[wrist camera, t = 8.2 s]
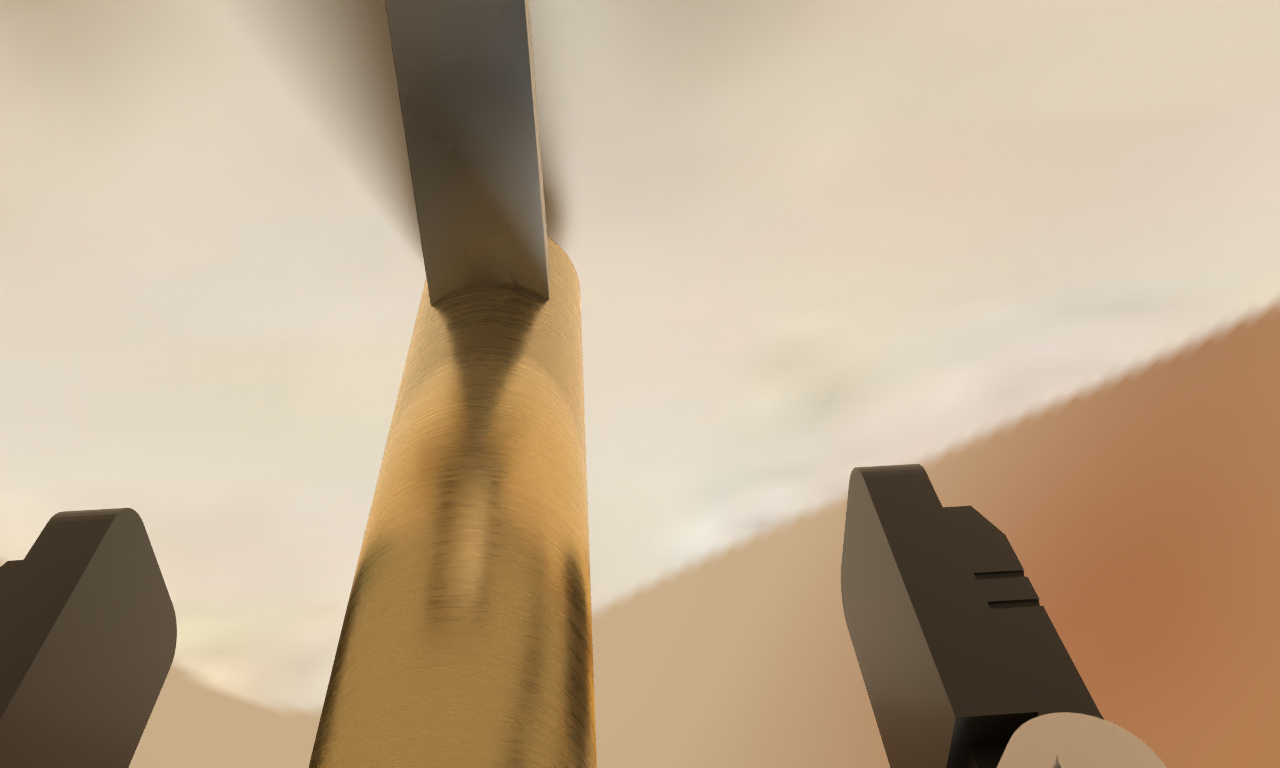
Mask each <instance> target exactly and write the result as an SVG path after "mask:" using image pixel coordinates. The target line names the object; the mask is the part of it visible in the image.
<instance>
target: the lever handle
mask: <svg viewBox="0 0 1280 768" xmlns="http://www.w3.org/2000/svg"><path fill="white" fill-rule="evenodd" d="M385 3H386V9H387V16H388V23H389V29H390V36H391V43H392V49H393V56H394V63H395V70H396V76H397V83H398V90H399V96H400V103H401V110H402V116H403V123H404V130H405V137H406V143H407V150H408V157H409V163H410V170H411V177H412V183H413V190H414V197H415V204H416V210H417V217H418V224H419V230H420V237H421V244H422V250H423V257H424V264H425V270H426V281H425V285H424V289H423V293H422V297H421V301H420V306H419V310H418V314H417V318H416V322H415V326H414V331H413V335H412V339H411V343H410V347H409V351H408V356H407V360H406V364H405V368H404V372H403V377H402V381H401V385H400V389H399V393H398V397H397V402H396V406H395V410H394V414H393V418H392V422H391V427H390V431H389V435H388V439H387V443H386V447H385V452H384V456H383V460H382V464H381V468H380V472H379V477H378V481H377V485H376V489H375V493H374V497H373V502H372V506H371V510H370V514H369V518H368V522H367V527H366V531H365V535H364V539H363V543H362V547H361V552H360V556H359V560H358V564H357V568H356V572H355V577H354V581H353V585H352V589H351V593H350V597H349V602H348V606H347V610H346V614H345V618H344V622H343V627H342V631H341V635H340V639H339V643H338V647H337V652H336V656H335V660H334V664H333V668H332V672H331V677H330V681H329V685H328V689H327V693H326V697H325V702H324V706H323V710H322V714H321V718H320V723H319V727H318V731H317V735H316V739H315V743H314V748H313V752H312V756H311V760H310V764H309V768H597V760H596V735H595V734H596V732H595V703H594V674H593V647H592V646H593V645H592V616H591V588H590V559H589V530H588V501H587V472H586V444H585V415H584V386H583V357H582V328H581V300H580V285H579V280H578V276H577V273H576V270H575V268H574V266H573V264H572V262H571V260H570V259H569V257H568V256H567V254H566V253H565V252H564V251H563V250H562V248H561V247H560V246H558V245H557V244H556V243H555V242H554V241H553V240H551V239H550V238H548V237H547V226H546V213H545V201H544V188H543V176H542V163H541V151H540V138H539V126H538V113H537V101H536V88H535V76H534V64H533V51H532V39H531V26H530V14H529V1H528V0H385Z"/></svg>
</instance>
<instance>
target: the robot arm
mask: <svg viewBox="0 0 1280 768" xmlns="http://www.w3.org/2000/svg"><path fill="white" fill-rule="evenodd" d="M841 591H842V601H843V608H844V614H845V619H846V623H847V626H848V630H849V633H850V636H851V640H852V643H853V646H854V649H855V653H856V656H857V659H858V663H859V666H860V669H861V672H862V675H863V679H864V682H865V686H866V689H867V692H868V695H869V699H870V702H871V705H872V708H873V712H874V715H875V718H876V721H877V725H878V728H879V731H880V735H881V738H882V741H883V745H884V748H885V751H886V754H887V758H888V761H889V764H890V768H1166V767H1165V765H1164V764H1163V763H1162V761H1161V760H1160V758H1159V757H1158V756H1157V755H1156V754H1155V753H1154V752H1153V751H1152V750H1151V749H1150V748H1149V747H1148V746H1147V745H1146V744H1145V743H1144V742H1142V741H1141V740H1140V739H1139V738H1137V737H1136V736H1135V735H1133V734H1131V733H1130V732H1128V731H1127V730H1125V729H1124V728H1121V727H1119V726H1117V725H1115V724H1113V723H1111V722H1109V721H1106V720H1104V719H1103V717H1102V715H1101V714H1100V712H1099V710H1098V709H1097V707H1096V705H1095V703H1094V701H1093V699H1092V697H1091V695H1090V694H1089V692H1088V690H1087V688H1086V686H1085V684H1084V682H1083V680H1082V678H1081V677H1080V675H1079V673H1078V671H1077V669H1076V667H1075V665H1074V663H1073V661H1072V660H1071V658H1070V656H1069V654H1068V652H1067V650H1066V648H1065V646H1064V645H1063V643H1062V641H1061V639H1060V637H1059V635H1058V634H1057V632H1056V629H1055V628H1054V626H1053V624H1052V622H1051V620H1050V618H1049V617H1048V614H1047V613H1046V611H1045V609H1044V607H1043V606H1040V604H1039V597H1038V596H1037V594H1036V592H1035V590H1034V588H1033V586H1032V584H1031V583H1030V581H1029V579H1028V577H1025V576H1024V569H1023V567H1022V566H1021V564H1020V562H1019V560H1018V558H1017V556H1016V554H1015V552H1014V551H1013V549H1012V547H1011V545H1010V543H1009V541H1008V539H1007V537H1006V535H1005V534H1003V533H1002V532H1001V531H1000V530H999V529H998V528H996V527H995V526H994V525H993V524H992V523H991V522H989V521H988V520H987V519H986V518H985V517H983V516H982V515H981V514H980V513H979V512H978V511H976V510H975V509H974V508H972V506H962V507H944V508H943V507H942V505H941V503H940V501H939V499H938V497H937V495H936V493H935V490H934V488H933V486H932V484H931V482H930V480H929V478H928V475H927V473H926V471H925V470H924V468H923V467H922V466H921V465H920V464H909V465H892V466H875V467H858V468H854V469H853V471H852V473H851V476H850V482H849V491H848V502H847V512H846V523H845V533H844V544H843V555H842V566H841ZM176 638H177V626H176V616H175V611H174V608H173V604H172V602H171V599H170V596H169V593H168V590H167V588H166V585H165V582H164V579H163V577H162V574H161V571H160V568H159V565H158V563H157V560H156V557H155V554H154V552H153V549H152V546H151V543H150V541H149V538H148V535H147V532H146V529H145V527H144V524H143V522H142V519H141V518H140V516H139V514H138V513H137V512H136V511H135V510H133V509H131V508H119V509H101V510H84V511H67V512H59V513H57V514H55V515H54V516H53V517H52V518H51V519H50V520H49V522H48V523H47V524H46V526H45V528H44V529H43V531H42V532H41V534H40V535H39V537H38V538H37V540H36V541H35V543H34V545H33V546H32V548H31V549H30V551H29V552H28V554H27V555H26V557H25V559H24V560H16V561H7V562H6V563H5V564H4V565H2V566H1V567H0V768H128V767H129V765H130V762H131V760H132V758H133V755H134V753H135V750H136V748H137V746H138V743H139V741H140V738H141V736H142V734H143V731H144V729H145V727H146V724H147V722H148V719H149V717H150V715H151V712H152V710H153V707H154V705H155V703H156V700H157V698H158V696H159V693H160V691H161V688H162V686H163V684H164V681H165V679H166V677H167V674H168V672H169V669H170V667H171V664H172V661H173V658H174V654H175V648H176Z"/></svg>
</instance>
